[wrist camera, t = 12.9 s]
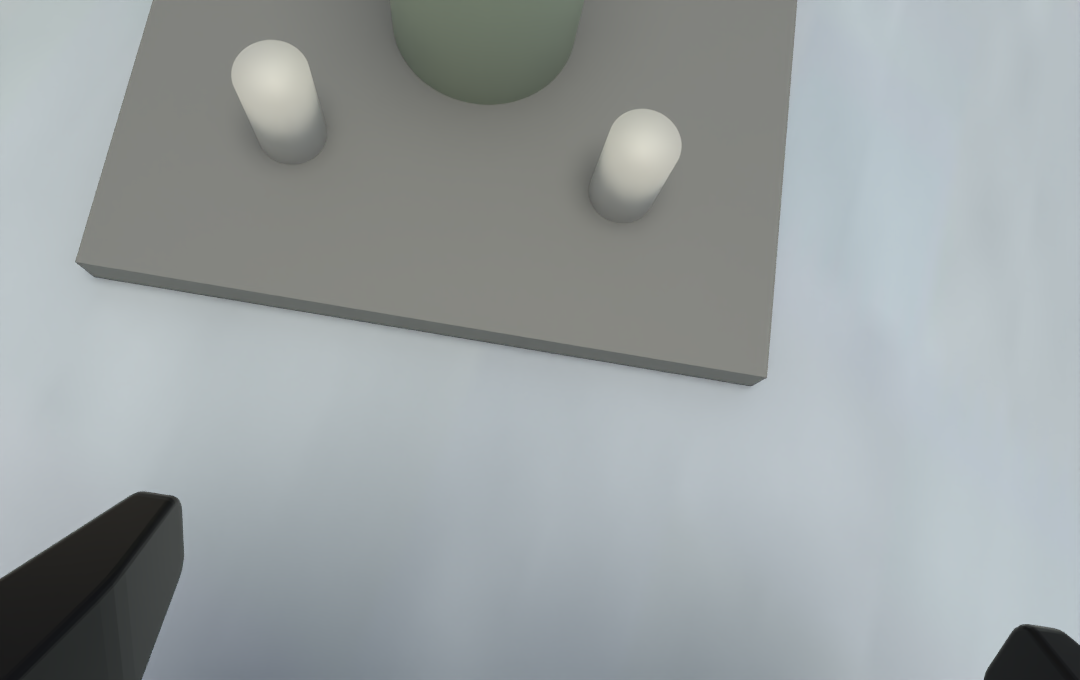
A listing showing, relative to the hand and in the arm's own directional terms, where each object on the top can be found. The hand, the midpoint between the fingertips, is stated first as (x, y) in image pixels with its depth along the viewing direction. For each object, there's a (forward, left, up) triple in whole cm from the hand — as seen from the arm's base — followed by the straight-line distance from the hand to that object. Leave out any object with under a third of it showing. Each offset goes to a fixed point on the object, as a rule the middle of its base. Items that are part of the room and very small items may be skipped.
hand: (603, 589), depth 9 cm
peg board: (+14, -6, -14) cm, 20 cm away
